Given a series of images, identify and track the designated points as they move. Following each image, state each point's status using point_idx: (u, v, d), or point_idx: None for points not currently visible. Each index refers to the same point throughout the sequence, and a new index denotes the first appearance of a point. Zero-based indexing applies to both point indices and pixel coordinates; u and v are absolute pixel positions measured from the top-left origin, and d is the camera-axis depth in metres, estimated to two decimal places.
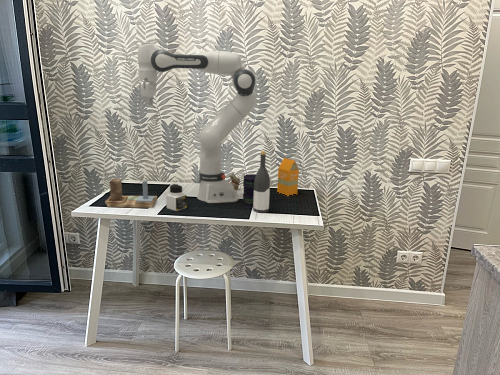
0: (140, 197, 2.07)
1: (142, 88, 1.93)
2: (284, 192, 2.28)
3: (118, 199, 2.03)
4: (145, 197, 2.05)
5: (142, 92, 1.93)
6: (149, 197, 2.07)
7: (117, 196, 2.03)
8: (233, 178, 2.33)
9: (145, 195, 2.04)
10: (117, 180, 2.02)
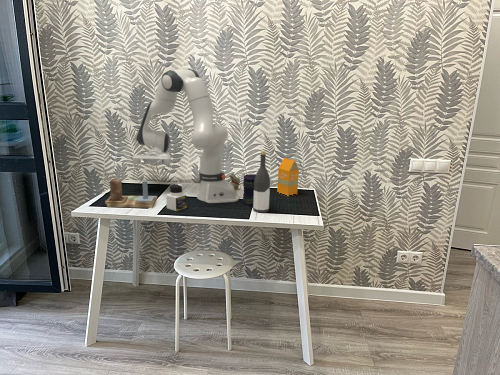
0: (140, 197, 2.07)
1: None
2: (284, 192, 2.28)
3: (118, 199, 2.03)
4: (145, 197, 2.05)
5: None
6: (149, 197, 2.07)
7: (117, 196, 2.03)
8: (233, 178, 2.33)
9: (145, 195, 2.04)
10: (117, 180, 2.02)
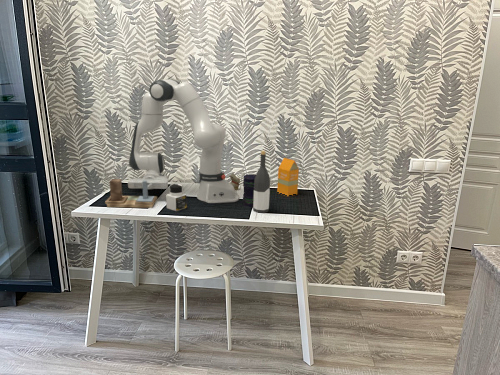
0: (140, 197, 2.07)
1: None
2: (284, 192, 2.28)
3: (118, 199, 2.03)
4: (145, 197, 2.05)
5: None
6: (149, 197, 2.07)
7: (117, 196, 2.03)
8: (233, 178, 2.33)
9: (145, 195, 2.04)
10: (117, 180, 2.02)
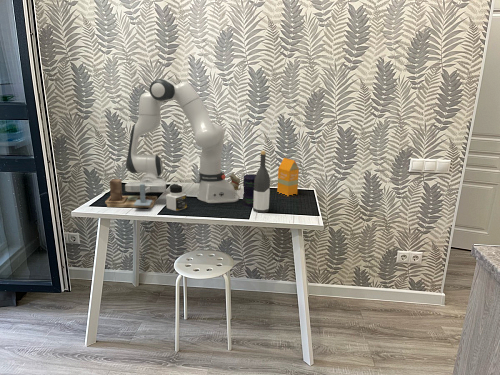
0: (137, 201, 2.01)
1: None
2: (284, 192, 2.28)
3: (118, 199, 2.03)
4: (143, 201, 1.99)
5: None
6: (147, 201, 2.01)
7: (117, 196, 2.03)
8: (233, 178, 2.33)
9: (142, 199, 1.98)
10: (117, 180, 2.02)
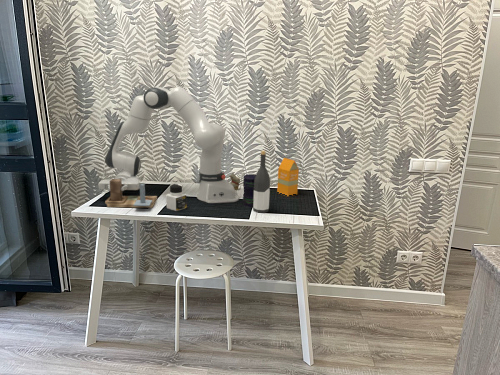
0: (137, 201, 2.01)
1: None
2: (284, 192, 2.28)
3: (118, 199, 2.03)
4: (142, 201, 1.98)
5: None
6: (147, 201, 2.01)
7: (117, 196, 2.03)
8: (233, 178, 2.33)
9: (142, 199, 1.98)
10: (117, 180, 2.02)
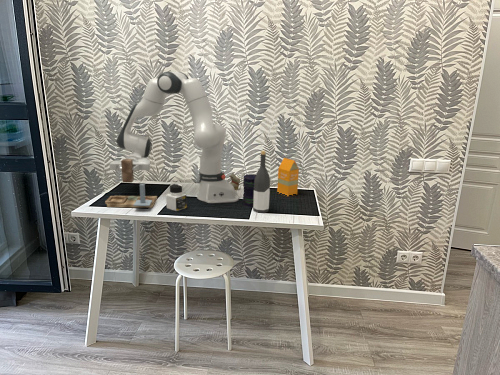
0: (137, 201, 2.01)
1: None
2: (284, 192, 2.28)
3: (130, 179, 2.04)
4: (142, 201, 1.98)
5: None
6: (147, 201, 2.01)
7: (129, 176, 2.04)
8: (233, 178, 2.33)
9: (142, 199, 1.98)
10: (128, 160, 2.03)
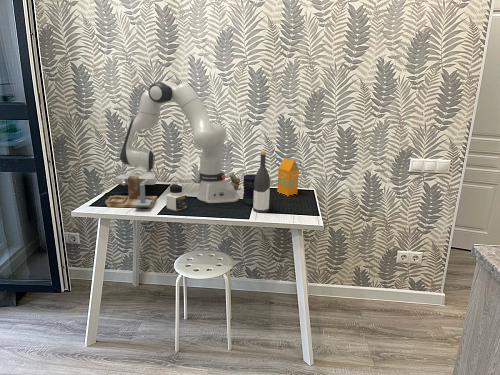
0: (137, 201, 2.01)
1: None
2: (284, 192, 2.28)
3: (136, 196, 2.09)
4: (142, 201, 1.98)
5: None
6: (147, 201, 2.01)
7: (135, 193, 2.08)
8: (233, 178, 2.33)
9: (142, 199, 1.98)
10: (135, 177, 2.08)
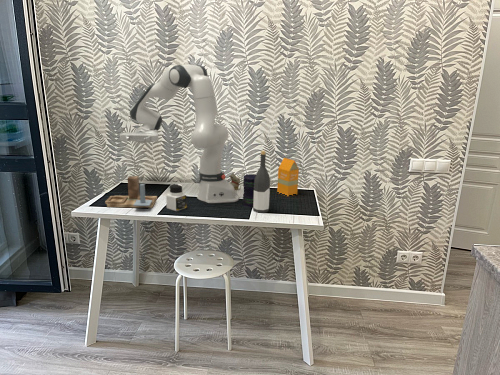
0: (137, 201, 2.01)
1: None
2: (284, 192, 2.28)
3: (136, 196, 2.09)
4: (142, 201, 1.98)
5: None
6: (147, 201, 2.01)
7: (135, 193, 2.08)
8: (233, 178, 2.33)
9: (142, 199, 1.98)
10: (135, 177, 2.08)
